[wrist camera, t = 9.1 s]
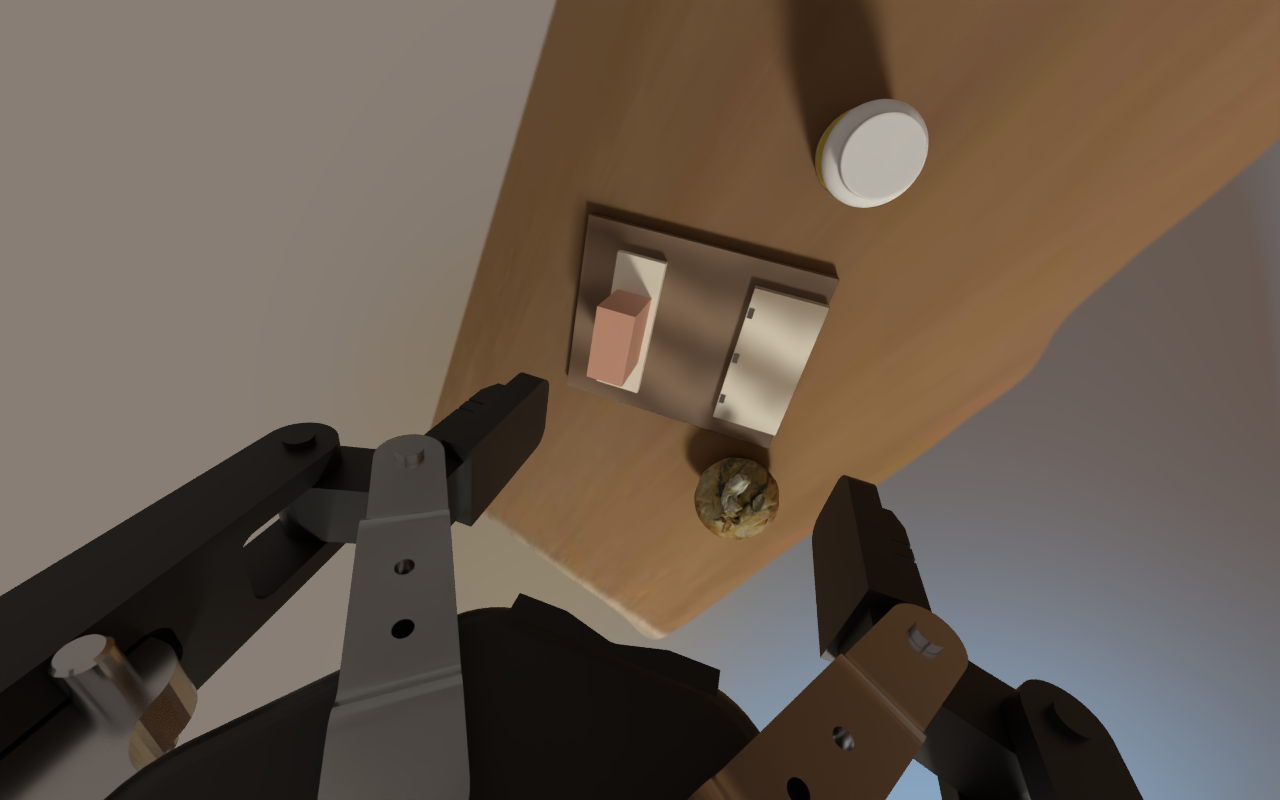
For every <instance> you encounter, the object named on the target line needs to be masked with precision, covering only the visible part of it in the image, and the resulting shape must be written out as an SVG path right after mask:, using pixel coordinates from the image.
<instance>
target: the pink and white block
mask: <svg viewBox="0 0 1280 800" xmlns="http://www.w3.org/2000/svg"><path fill="white" fill-rule="evenodd" d="M667 263H668V262H665V261H662V260H658V259H654V258H650V257H647V256H643V255H639V254H635V253H632V252H628V251H624V250H619V251H618V253H617V259H616V265H615V271H614V277H613V284H612V290H611V295H610V296H609V297H608V298H606V299H605V300H604V301H603V302H602V303H600V304H599V305H598V306H597V311H596V317H595V324H594V330H593V337H592V344H591V350H590V357H589V363H588V370H587V377H590V378H594V379H597V380H596V381H599V382H603V383H606V384H609V385H612V386H616V387H619V388H622V389H625V390H628V391H632V392H635V393H637V392H638V391H639V389H640V384H641V380H642V375H643V371H644V366H645V362H646V357H647V353H648V348H649V344H650V339H651V335H652V330H653V326H654V321H655V317H656V312H657V308H658V304H659V299H660V295H661V290H662V286H663V281H664V277H665V272H666V268H667Z"/></svg>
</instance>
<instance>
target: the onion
mask: <svg viewBox="0 0 1280 800" xmlns="http://www.w3.org/2000/svg"><path fill="white" fill-rule="evenodd" d="M695 507H696V511H697V514H698V517H699V518H700V520H701V522H702V523H703V524H704V525H705V527H707V528H708V529H709V530H710V531H711V532H713V533H714V534H715V535H717V536H719V537H722V538H726V539H731V540H737V539H745V538H749V537H752V536H755V535H757V534H759V533H761V532H762V531H763V530H765V529H766V528H767V527H768V526H770V525H771V524H772V522H773V521H774V519H775V516H776V514H777V511H778V507H779V490H778V486H777V483H776V481H775V479H774V478H773V477H772V475H771V474H770V472H769V471H768V470H766V469H765V468H764V467H763V466H762V465H760V464H759V463H757V462H755V461H752V460H750V459H744V458H725V459H723V460H721V461H719V462H717V463H714V464H712V465H711V466H710V467H709V468H708V469H706V470H705V471H704V473H703V474H702V475H701V477H700V480H699V483H698V486H697V488H696V491H695Z"/></svg>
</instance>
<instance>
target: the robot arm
mask: <svg viewBox="0 0 1280 800" xmlns="http://www.w3.org/2000/svg"><path fill="white" fill-rule="evenodd" d="M548 393H549V383H548V381H547V380H545V379H542V378H539V377H535V376H532V375H529V374H526V373H519V374H518V375H517V376H516V377H514V378H513V379H512V380H511V381H510V382H509V383H507V384H506V385H502V384H499V383H498V384H495V385H493V386H490V387H487V388H484V389H481V390H480V391H479V392H477V393H476V394H475V395H474V396H472V397H471V398H470V399H469V401H466V402H465V403H464V404H462V405H461V406H460V407H459V409H456V410H455V411H454V412H452V413H451V414H450V415H449V416H447V417H446V418H445V419H443V420H442V421H441V422H440V423H438V424H437V425H436V426H435V427H433V428H432V429H431V430H430V431H428V432H427V433H426V434H425V435H417V434H414V435H413V434H412V435H411V434H410V435H403V436H398V437H395V438H392V439H390V440H387V441H386V442H384V443H383V444H381V445H380V446H379V447H378V448H377V449H368V448H357V447H347V446H340V442H339V436H338V433H337V431H336V430H335V429H334V428H332V427H330V426H328V425H324V424H320V423H298V424H293V425H288V426H285V427H282V428H279V429H277V430H275V431H273V432H271V433H269V434H267V435H266V436H264V437H263V438H261V439H259V440H258V441H256V442H254V443H253V444H251V445H249V446H248V447H246V448H244V449H243V450H241V451H239V452H238V453H236V454H234V455H233V456H231V457H230V458H228V459H226V460H225V461H223V462H221V463H220V464H218V465H216V466H215V467H213V468H211V469H210V470H208V471H206V472H205V473H203V474H202V475H200V476H198V477H196V478H195V479H193V480H192V481H190V482H188V483H187V484H185V485H183V486H182V487H180V488H178V489H177V490H175V491H173V492H172V493H170V494H168V495H167V496H165V497H164V498H162V499H160V500H158V501H157V502H155V503H154V504H152V505H150V506H149V507H147V508H145V509H144V510H142V511H140V512H139V513H137V514H135V515H134V516H132V517H130V518H129V519H127V520H125V521H124V522H122V523H121V524H119V525H117V526H116V527H114V528H112V529H111V530H109V531H107V532H106V533H104V534H102V535H101V536H99V537H97V538H96V539H94V540H92V541H91V542H89V543H88V544H86V545H84V546H83V547H81V548H79V549H78V550H76V551H74V552H73V553H71V554H70V555H68V556H66V557H64V558H63V559H61V560H59V561H58V562H56V563H54V564H53V565H51V566H50V567H48V568H46V569H45V570H43V571H41V572H40V573H38V574H36V575H35V576H33V577H31V578H30V579H28V580H27V581H25V582H23V583H22V584H20V585H18V586H17V587H15V588H13V589H12V590H10V591H8V592H7V593H5V594H3V595H2V596H0V800H885V799H886V798H887V797H888V795H889V794H890V792H891V791H892V789H893V787H894V786H895V785H896V783H897V782H898V780H899V779H900V777H901V776H902V774H903V772H904V771H905V770H906V768H907V767H908V765H909V764H910V762H911V761H912V759H915V760H916V761H917V762H919V763H920V764H922V765H923V766H924V767H926V768H927V769H928V770H930V771H931V772H933V773H934V774H935V775H937V776H938V781H939V786H940V791H941V796H942V800H1143V798H1142V796H1141V794H1140V792H1139V790H1138V788H1137V786H1136V784H1135V782H1134V780H1133V778H1132V776H1131V775H1130V772H1129V770H1128V769H1127V766H1126V764H1125V763H1124V761H1123V759H1122V757H1121V755H1120V753H1119V751H1118V749H1117V747H1116V745H1115V743H1114V741H1113V739H1112V738H1111V736H1110V735H1109V733H1108V731H1107V730H1106V728H1105V727H1104V726H1103V724H1102V723H1101V722H1100V721H1099V720H1098V718H1097V717H1096V716H1095V715H1094V714H1093V713H1092V712H1091V711H1090V710H1089V709H1088V708H1087V707H1086V706H1084V705H1083V704H1082V703H1081V702H1080V701H1078V700H1077V699H1076V698H1075V697H1073V696H1072V695H1070V694H1069V693H1067V692H1066V691H1064V690H1063V689H1061V688H1059V687H1057V686H1055V685H1053V684H1051V683H1048V682H1045V681H1042V680H1028V681H1025V682H1024V683H1023V684H1022V685H1020V686H1019V687H1018V688H1017V689H1014V688H1012V687H1010V686H1009V685H1007V684H1006V683H1004V682H1002V681H1001V680H999V679H998V678H996V677H994V676H993V675H991V674H989V673H988V672H986V671H984V670H983V669H981V668H979V667H978V666H976V665H975V664H973V663H972V662H970V661H969V660H968V655H967V652H966V649H965V647H964V645H963V643H962V642H961V640H960V638H959V637H958V635H957V634H956V633H955V632H954V630H952V628H950V626H949V625H948V624H947V623H945V622H944V621H943V620H942V619H941V618H939V617H938V616H937V615H935V614H934V613H932V611H931V608H930V605H929V602H928V599H927V596H926V593H925V589H924V587H923V583H922V580H921V577H920V574H919V571H918V568H917V565H916V563H914V561H915V558H914V555H913V552H912V549H910V543H909V539H908V537H907V533H906V530H905V528H904V527H903V525H902V524H901V523H900V521H899V520H898V519H897V517H896V516H895V515H894V513H893V512H892V511H890V510H887V509H884V508H882V506H881V502H880V498H879V494H878V491H877V488H876V486H875V485H874V484H871V483H868V482H865V481H862V480H859V479H856V478H852V477H849V476H846V475H843V476H841V477H840V478H839V480H838V481H837V483H836V485H835V487H834V489H833V490H832V492H831V494H830V496H829V498H828V500H827V501H826V503H825V505H824V507H823V509H822V511H821V512H820V514H819V516H818V518H817V520H816V523H815V526H814V530H813V535H812V548H813V562H814V576H815V590H816V604H817V617H818V631H819V645H820V658H823V659H825V660H828V661H831V662H832V663H831V664H830V665H829V666H828V667H827V668H826V669H825V670H823V672H821V674H819V675H818V676H817V677H816V679H814V680H813V681H812V682H811V683H810V684H809V685H808V686H807V687H806V688H805V689H804V690H803V691H802V692H801V693H800V694H799V695H798V696H797V697H796V698H795V699H794V700H793V701H792V702H791V703H790V704H789V705H788V706H787V707H786V708H785V709H784V710H783V711H781V712H780V713H779V714H778V715H777V716H776V717H775V718H774V719H773V720H772V721H771V722H770V723H769V724H768V725H767V726H766V727H765V728H764V729H763V730H762V731H761V732H759V730H758V729H757V728H756V726H755V725H754V724H753V722H752V721H751V720H750V718H749V717H748V716H747V715H746V714H745V712H744V711H742V709H741V708H740V707H739V706H738V705H737V704H736V703H735V702H734V701H733V700H732V699H730V698H729V697H728V696H727V695H726V694H725V693H723V692H722V691H720V690H719V689H718V683H719V676H720V670H718V669H716V668H713V667H711V666H708V665H705V664H703V663H700V662H698V661H695V660H692V659H690V658H687V657H685V656H682V655H679V654H677V653H674V652H672V651H669V650H662V649H652V648H645V647H637V646H629V645H620V644H615V643H612V642H610V641H608V640H607V639H605V638H604V637H603V636H601V635H600V634H598V633H597V632H595V631H594V630H593V629H591V628H590V627H588V626H587V625H586V624H584V623H583V622H581V621H580V620H578V619H577V618H576V617H574V616H573V615H572V614H570V613H569V612H567V611H565V610H563V609H560V608H557V607H555V606H552V605H550V604H547V603H545V602H542V601H539V600H537V599H534V598H532V597H529V596H526V595H524V594H521V593H520V594H519V595H518V597H517V599H516V601H515V602H514V604H513V606H512V607H511V608H505V607H490V608H482V609H476V610H472V611H467V612H463V613H461V614H458V615H457V606H456V593H455V580H454V566H453V551H452V538H451V525H452V524H453V523H454V522H455V521H457V522H460V523H463V524H465V525H468V526H472V525H473V524H474V523H475V521H476V520H477V519H478V518H479V517H480V515H481V514H482V513H483V512H484V511H485V509H486V508H487V507H488V506H489V505H490V503H491V502H492V501H493V500H494V499H495V497H496V496H497V495H498V494H499V493H500V491H501V490H502V489H503V488H504V486H505V485H506V484H507V483H508V482H509V480H510V479H511V478H512V477H513V476H514V474H515V473H516V472H517V471H518V470H519V468H520V467H521V466H522V465H523V464H524V462H525V461H526V460H527V459H528V457H529V456H530V455H531V454H532V453H533V451H534V450H535V449H536V448H537V446H538V445H539V443H540V441H541V439H542V436H543V433H544V429H545V422H546V412H547V403H548ZM277 514H279V517H280V519H278V520H277V521H276V522H275V523H273V524H272V525H271V526H270V527H269V528H267V529H266V530H265V531H264V532H262V533H261V534H260V535H258V536H257V537H256V538H255V539H253V540H252V541H251V542H250V543H248V544H247V545H246V546H245V547H243V546H244V544H245V542H246V541H247V539H248V538H249V537H250V536H251V534H253V533H254V532H255V531H256V530H257V529H259V528H260V527H261V526H263V525H264V524H265V523H266V522H268V521H269V520H270V519H271V518H273V517H274V516H275V515H277ZM345 543H355V544H356V550H355V558H354V566H353V573H352V582H351V589H350V598H349V605H348V612H347V620H346V628H345V636H344V644H343V652H342V660H341V667H340V670H338V671H335V672H334V673H331V674H329V675H327V676H325V677H323V678H321V679H319V680H317V681H314V682H312V683H310V684H308V685H306V686H304V687H302V688H300V689H298V690H296V691H294V692H291V693H289V694H288V695H285V696H283V697H281V698H279V699H276V700H274V701H272V702H270V703H268V704H266V705H264V706H262V707H260V708H258V709H255V710H253V711H251V712H249V713H247V714H245V715H243V716H241V717H239V718H236V719H234V720H232V721H230V722H228V723H226V724H224V725H222V726H220V727H218V728H216V729H213V730H211V731H209V732H207V733H205V734H203V735H201V736H199V737H196V738H194V739H192V740H190V741H188V742H186V743H184V744H182V745H181V746H179V747H177V748H175V746H176V744H177V742H178V738H179V734H180V733H181V732H182V730H183V729H184V728H185V727H186V725H187V724H188V722H189V721H190V719H191V717H192V715H193V713H194V711H195V708H196V704H197V690H198V689H199V688H200V687H201V686H202V685H203V684H204V683H205V682H206V681H207V680H208V679H209V678H210V677H211V676H212V675H213V674H214V673H215V672H216V671H217V670H218V669H219V668H220V667H221V666H222V665H223V664H224V663H225V662H226V661H227V660H228V659H229V658H230V657H231V656H232V655H233V654H234V653H235V652H236V651H237V650H238V649H239V648H240V647H241V646H242V645H243V644H244V643H245V642H246V641H247V640H248V639H249V638H250V637H251V636H252V635H253V634H254V633H255V632H256V631H258V629H260V627H262V625H264V624H265V623H266V622H267V621H268V620H269V619H270V618H271V616H273V614H275V612H276V611H278V610H279V609H280V608H281V607H282V606H283V605H284V604H285V603H286V602H287V601H288V600H289V599H290V598H291V597H292V596H293V595H294V594H295V593H296V592H297V591H298V590H299V589H300V588H301V587H302V586H303V585H304V584H305V583H306V582H307V581H308V580H309V579H310V578H311V577H312V576H313V575H314V574H315V573H316V572H317V571H318V570H319V569H320V568H321V567H322V566H323V565H324V564H325V563H326V562H327V561H328V560H329V559H330V558H331V557H332V556H333V555H334V554H335V553H336V552H337V551H338V550H339V549H340V548H341V547H342V546H343V545H344V544H345ZM174 748H175V749H174Z"/></svg>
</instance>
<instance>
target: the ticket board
mask: <svg viewBox="0 0 1280 800" xmlns="http://www.w3.org/2000/svg"><path fill="white" fill-rule="evenodd" d="M619 250H624V251H628V252H632V253H635V254H639V255H643V256H647V257H650V258H654V259H658V260H662V261H665V262H668V263H667V268H666V272H665V277H664V281H663V286H662V290H661V295H660V299H659V304H658V308H657V312H656V317H655V321H654V326H653V330H652V335H651V339H650V344H649V348H648V353H647V357H646V362H645V366H644V371H643V375H642V380H641V384H640V389H639V391H638V392H637V393H635V392H632V391H628V390H625V389H622V388H619V387H616V386H612V385H609V384H606V383H603V382H599V381H596V380H597V379H594V378H590V377H587V370H588V363H589V357H590V350H591V344H592V337H593V330H594V324H595V317H596V311H597V306H598V305H599V304H600V303H602V302H603V301H604V300H605V299H606V298H608V297H609V296H610V295H611V290H612V284H613V277H614V271H615V265H616V259H617V253H618V251H619ZM838 282H839V278H838V277H837V276H833V275H830V274H826V273H822V272H818V271H814V270H810V269H806V268H803V267H799V266H795V265H791V264H787V263H783V262H779V261H776V260H772V259H768V258H764V257H760V256H756V255H752V254H749V253H745V252H741V251H737V250H733V249H729V248H725V247H722V246H718V245H714V244H710V243H706V242H702V241H699V240H695V239H691V238H687V237H683V236H679V235H675V234H672V233H668V232H664V231H660V230H656V229H652V228H648V227H645V226H641V225H637V224H633V223H629V222H625V221H621V220H618V219H614V218H610V217H606V216H602V215H598V214H594V213H592V214H589V217H588V225H587V233H586V240H585V248H584V256H583V264H582V272H581V280H580V287H579V295H578V303H577V311H576V319H575V326H574V334H573V342H572V350H571V358H570V365H569V373H568V381H567V385H568V386H571V387H574V388H577V389H580V390H583V391H587V392H590V393H593V394H596V395H599V396H603V397H606V398H609V399H612V400H615V401H618V402H622V403H625V404H628V405H631V406H634V407H637V408H641V409H644V410H647V411H650V412H653V413H657V414H660V415H663V416H666V417H669V418H672V419H676V420H679V421H682V422H685V423H688V424H691V425H695V426H698V427H701V428H704V429H707V430H711V431H714V432H717V433H720V434H723V435H726V436H730V437H733V438H736V439H739V440H742V441H745V442H749V443H752V444H755V445H758V446H761V447H765V448H769V445H770V443H771V440H772V438H773V436H775V435H776V433H777V431H778V428H779V426H780V424H781V421H782V419H783V416H784V414H785V412H786V409H787V407H788V405H789V402H790V400H791V398H792V395H793V393H794V391H795V388H796V386H797V383H798V381H799V379H800V376H801V374H802V372H803V369H804V367H805V365H806V362H807V360H808V358H809V355H810V353H811V350H812V348H813V346H814V343H815V341H816V339H817V336H818V334H819V332H820V329H821V327H822V325H823V322H824V320H825V318H826V315H827V313H828V310H829V303H830V301H831V298H832V296H833V293H834V291H835V289H836V286H837V284H838Z"/></svg>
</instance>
